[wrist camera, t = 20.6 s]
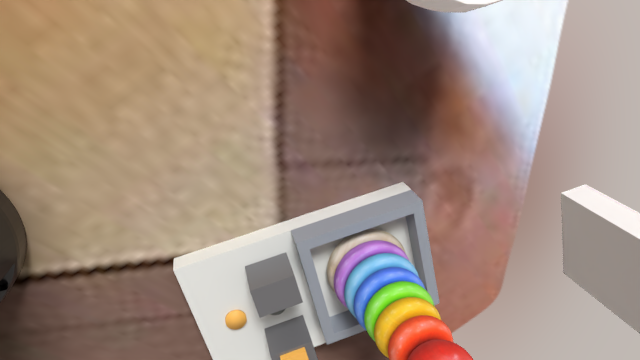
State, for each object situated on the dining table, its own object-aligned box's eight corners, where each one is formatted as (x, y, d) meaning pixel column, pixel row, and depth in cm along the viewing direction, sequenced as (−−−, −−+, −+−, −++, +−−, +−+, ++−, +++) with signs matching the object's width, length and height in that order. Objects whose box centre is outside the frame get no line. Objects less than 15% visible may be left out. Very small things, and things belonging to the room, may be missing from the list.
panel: (221, 367, 52) (222, 384, 50) (173, 258, 46) (173, 272, 44) (423, 292, 55) (432, 306, 53) (402, 181, 49) (412, 191, 47)
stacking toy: (398, 291, 52) (499, 444, 35) (323, 300, 50) (391, 466, 33) (405, 222, 49) (520, 353, 32) (325, 229, 47) (402, 372, 30)
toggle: (254, 291, 47) (259, 317, 44) (244, 266, 46) (249, 291, 42) (294, 277, 48) (303, 302, 44) (286, 252, 47) (294, 275, 43)
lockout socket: (320, 328, 51) (326, 344, 49) (290, 230, 46) (296, 243, 44) (428, 289, 52) (439, 302, 50) (411, 189, 47) (422, 200, 45)
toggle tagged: (272, 350, 50) (280, 384, 46) (264, 328, 49) (271, 361, 45) (310, 337, 51) (321, 369, 47) (302, 314, 50) (313, 345, 46)
